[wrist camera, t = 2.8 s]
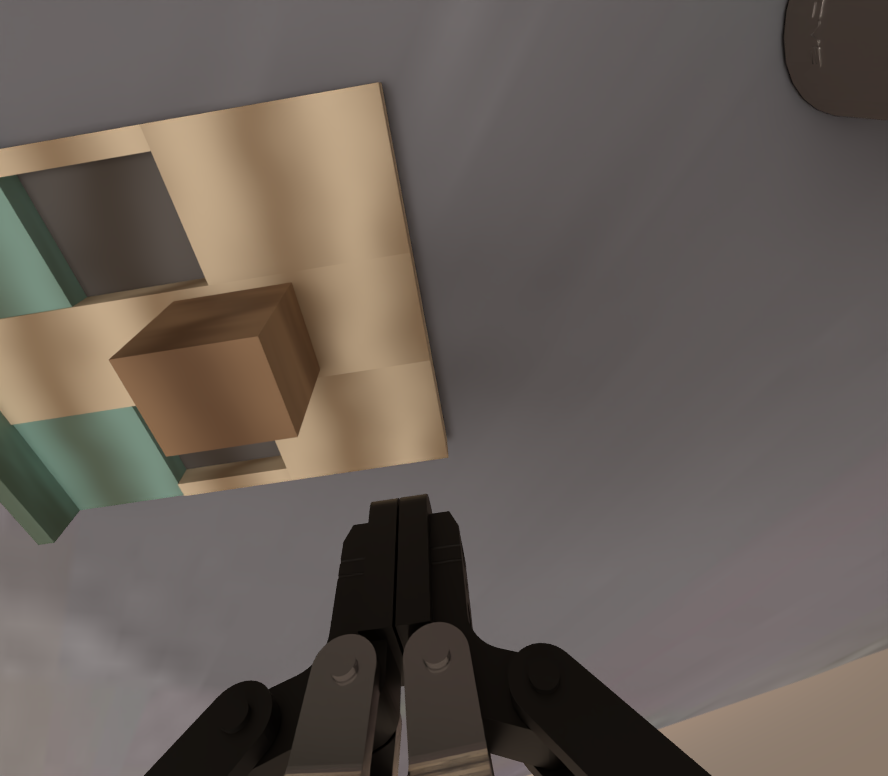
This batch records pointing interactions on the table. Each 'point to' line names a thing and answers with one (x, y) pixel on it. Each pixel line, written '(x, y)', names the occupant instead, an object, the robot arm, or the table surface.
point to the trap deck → (203, 274)
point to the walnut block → (222, 370)
